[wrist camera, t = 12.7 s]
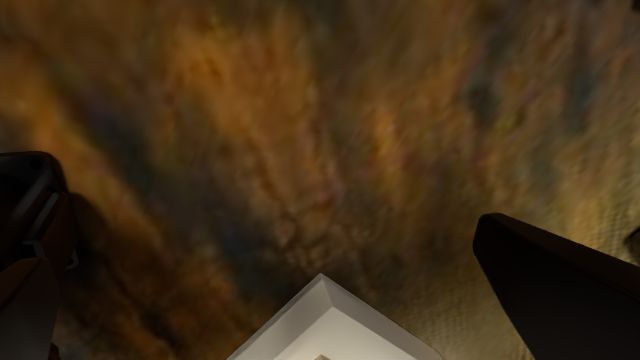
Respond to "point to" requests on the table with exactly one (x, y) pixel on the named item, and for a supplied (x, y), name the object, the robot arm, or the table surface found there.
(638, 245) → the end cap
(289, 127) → the table surface
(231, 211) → the table surface
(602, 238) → the table surface
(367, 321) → the white square tray
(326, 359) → the wooden square post
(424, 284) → the table surface
